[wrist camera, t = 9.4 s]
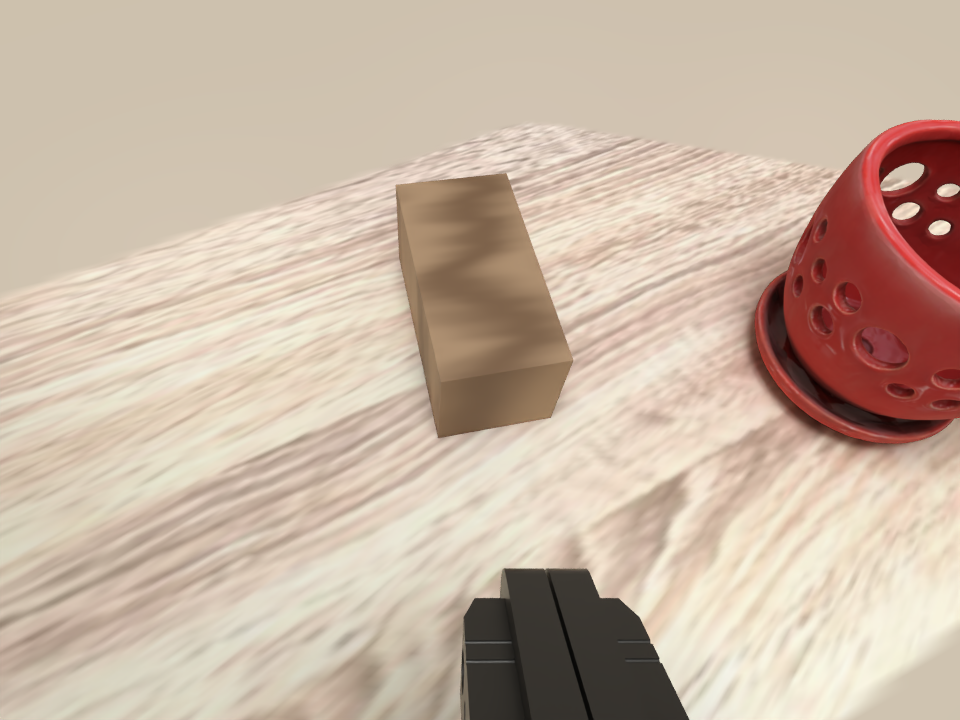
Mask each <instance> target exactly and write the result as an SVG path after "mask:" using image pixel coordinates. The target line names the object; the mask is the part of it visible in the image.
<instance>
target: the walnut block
mask: <svg viewBox="0 0 960 720" xmlns="http://www.w3.org/2000/svg"><path fill="white" fill-rule="evenodd" d="M396 199H397V220H398V240H399V259H400V263H401V268H402V272H403V277H404V282H405V286H406V291H407V296H408V300H409V305H410V309H411V314H412V319H413V323H414V328H415V333H416V337H417V342H418V346H419V351H420V356H421V360H422V365H423V370H424V374H425V379H426V383H427V388H428V393H429V397H430V402H431V407H432V411H433V416H434V420H435V425H436V430H437V434H438V438H441V437H447V436H452V435H458V434H463V433H469V432H474V431H480V430H485V429H491V428H496V427H502V426H507V425H513V424H518V423H524V422H529V421H535V420H540V419H546V418H551V415H552V413H553V410H554V408H555V405H556V403H557V400H558V398H559V395H560V393H561V390H562V387H563V385H564V382H565V380H566V377H567V375H568V372H569V370H570V367H571V365H572V362H573V358H572V355H571V353H570V350H569V347H568V344H567V341H566V339H565V336H564V333H563V330H562V327H561V325H560V322H559V319H558V316H557V313H556V311H555V308H554V305H553V302H552V300H551V297H550V294H549V291H548V288H547V286H546V283H545V280H544V277H543V274H542V272H541V269H540V266H539V263H538V260H537V258H536V255H535V252H534V249H533V246H532V244H531V241H530V238H529V235H528V232H527V230H526V227H525V224H524V221H523V218H522V216H521V213H520V210H519V207H518V204H517V202H516V199H515V196H514V193H513V190H512V188H511V185H510V182H509V179H508V177H507V174H506V173H505V174H495V175H486V176H476V177H467V178H457V179H448V180H438V181H429V182H419V183H410V184H400V185H396Z"/></svg>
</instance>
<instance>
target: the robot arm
mask: <svg viewBox="0 0 960 720" xmlns="http://www.w3.org/2000/svg"><path fill="white" fill-rule="evenodd" d="M460 697H461V719H462V720H689V718H688V716H687V714H686V712H685V710H684V708H683V706H682V704H681V702H680V700H679V698H678V696H677V694H676V691H675V689H674V687H673V685H672V683H671V681H670V679H669V677H668V675H667V673H666V671H665V669H664V667H663V665H662V663H660V662H659V657H658V654H657V652H656V650H655V648H654V646H653V644H651V643H650V638H649V636H648V634H647V632H646V630H645V628H644V626H643V624H642V622H641V620H640V618H639V616H637V615H636V614H635V613H634V612H633V611H632V610H631V609H630V608H629V607H627V606H626V605H625V604H624V603H623V602H622V601H621V600H620V599H619V598H600V597H599V595H598V592H597V590H596V587H595V585H594V582H593V580H592V577H591V575H590V573H589V571H588V570H587V569H546V570H544V569H503V571H502V577H501V591H500V598H475V599H474V600H473V602H472V604H471V606H470V607H469V609H468V611H467V613H466V614H465V616H464V622H463V645H462V667H461V689H460Z"/></svg>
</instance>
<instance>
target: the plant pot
mask: <svg viewBox="0 0 960 720" xmlns="http://www.w3.org/2000/svg"><path fill="white" fill-rule="evenodd" d="M908 163H920V164H923V165H924V172H923V174H922V176H921V177H920V178H919V179H918V180H917V181H915V182H914V183H913V184H911V185H909V186H907V187H905V188H902V189H899V190H894V191H882V190H881V188H880V184H881V182H882V181H883V180H884V178H885V177H886V176H887V175H888V174H889V173H890V172H891V171H893V170H894V169H895V168H898V167H900V166H902V165H905V164H908ZM945 184H955V185H958V186H959V187H960V121H952V120H918V121H912V122H907V123H903V124H901V125H897V126H895V127H892V128H890V129H888V130H886V131H884V132H883V133H881V134H880V135H878V136H877V137H876V138H875V139H873V140H872V141H871V142H870V143H869V144H868V145H867V146H866V147H865V148H864V150H863V151H862V152H861V153H860V154H859V155H858V156H857V157H856V158H855V159H854V160H853V161H852V162H851V164H850V165H849V166H848V167H847V168H846V170H845V171H844V172H843V173H842V174H841V176H840V177H839V178H838V180H837V181H836V182H835V184H834V185H833V186H832V188H831V189H830V190H829V192H828V193H827V194H826V196H825V197H824V199H823V200H822V202H821V203H820V205H819V206H818V208H817V210H816V211H815V213H814V215H813V217H812V218H811V220H810V222H809V224H808V226H807V227H806V229H805V231H804V233H803V235H802V237H801V239H800V241H799V243H798V245H797V247H796V249H795V252H794V254H793V257H792V259H791V262H790V265H789V269H788V271H786V272H784V273H782V274H780V275H779V276H778V277H776V278H775V279H774V280H773V281H772V282H771V283H770V284H769V285H768V286H767V288H766V289H765V291H764V292H763V294H762V296H761V298H760V300H759V303H758V305H757V309H756V313H755V333H756V339H757V344H758V348H759V351H760V354H761V357H762V359H763V362H764V364H765V366H766V368H767V370H768V371H769V373H770V375H771V376H772V378H773V379H774V381H775V382H776V384H777V385H778V386H779V387H780V389H781V390H782V391H783V392H784V393H785V394H786V396H787V397H788V398H789V399H790V400H791V401H792V402H793V403H795V404H796V405H797V406H798V407H799V408H800V409H802V410H803V411H804V412H805V413H807V414H808V415H809V416H811V417H812V418H814V419H815V420H817V421H819V422H820V423H822V424H824V425H826V426H827V427H829V428H831V429H833V430H835V431H838V432H840V433H842V434H845V435H847V436H850V437H853V438H858V439H862V440H865V441H870V442H877V443H908V442H914V441H919V440H922V439H925V438H928V437H931V436H933V435H935V434H937V433H939V432H940V431H941V430H943V429H944V428H945V427H947V426H948V425H949V424H950V423H951V422H952V421H953V420H954V418H960V191H959V192H958V193H957V194H955V195H954V196H951V197H941V196H939V195H938V194H937V189H938V188H939V187H941V186H942V185H945ZM907 202H912V203H916V204H918V205H919V206H920V209H919V212H918V213H917V214H916V215H915V216H913V217H911V218H909V219H905V220H897V219H895V218H893V217H892V213H893V211H894V210H895V209H896V208H897V207H898V206H899V205H901V204H903V203H907ZM938 220H944V221H947V222H948V223H950V225H951V228H950V231H949V232H948V233H946V234H944V235H933V234H931V233H930V231H929V230H928V228H929V226H930V225H931V224H932V223H933V222H935V221H938Z"/></svg>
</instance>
